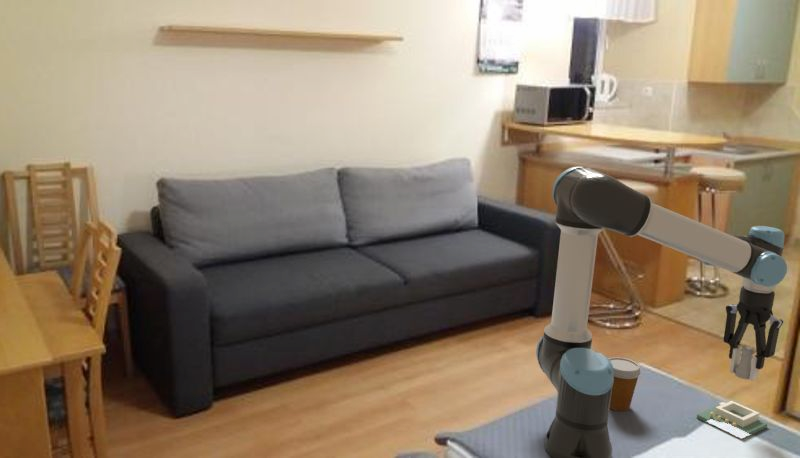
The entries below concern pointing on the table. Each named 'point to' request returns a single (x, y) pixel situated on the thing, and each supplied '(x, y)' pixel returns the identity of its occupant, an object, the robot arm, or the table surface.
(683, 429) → the table surface
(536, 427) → the table surface
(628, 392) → the disposable coffee cup
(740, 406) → the board
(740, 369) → the rook chess piece
